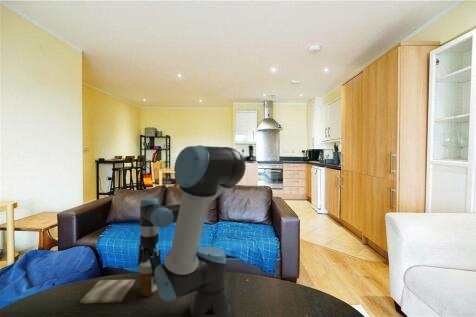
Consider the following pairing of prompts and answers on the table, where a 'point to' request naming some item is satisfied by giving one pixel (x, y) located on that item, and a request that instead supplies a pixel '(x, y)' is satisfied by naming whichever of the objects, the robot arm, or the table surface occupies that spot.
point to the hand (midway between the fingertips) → (149, 286)
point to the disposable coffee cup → (145, 278)
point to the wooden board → (108, 291)
